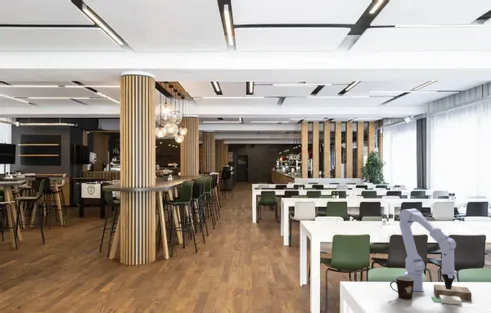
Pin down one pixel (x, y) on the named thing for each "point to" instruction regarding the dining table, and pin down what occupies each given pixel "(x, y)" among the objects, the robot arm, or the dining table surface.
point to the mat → (436, 299)
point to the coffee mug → (404, 287)
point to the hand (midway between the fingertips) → (448, 289)
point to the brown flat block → (453, 292)
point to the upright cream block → (450, 299)
